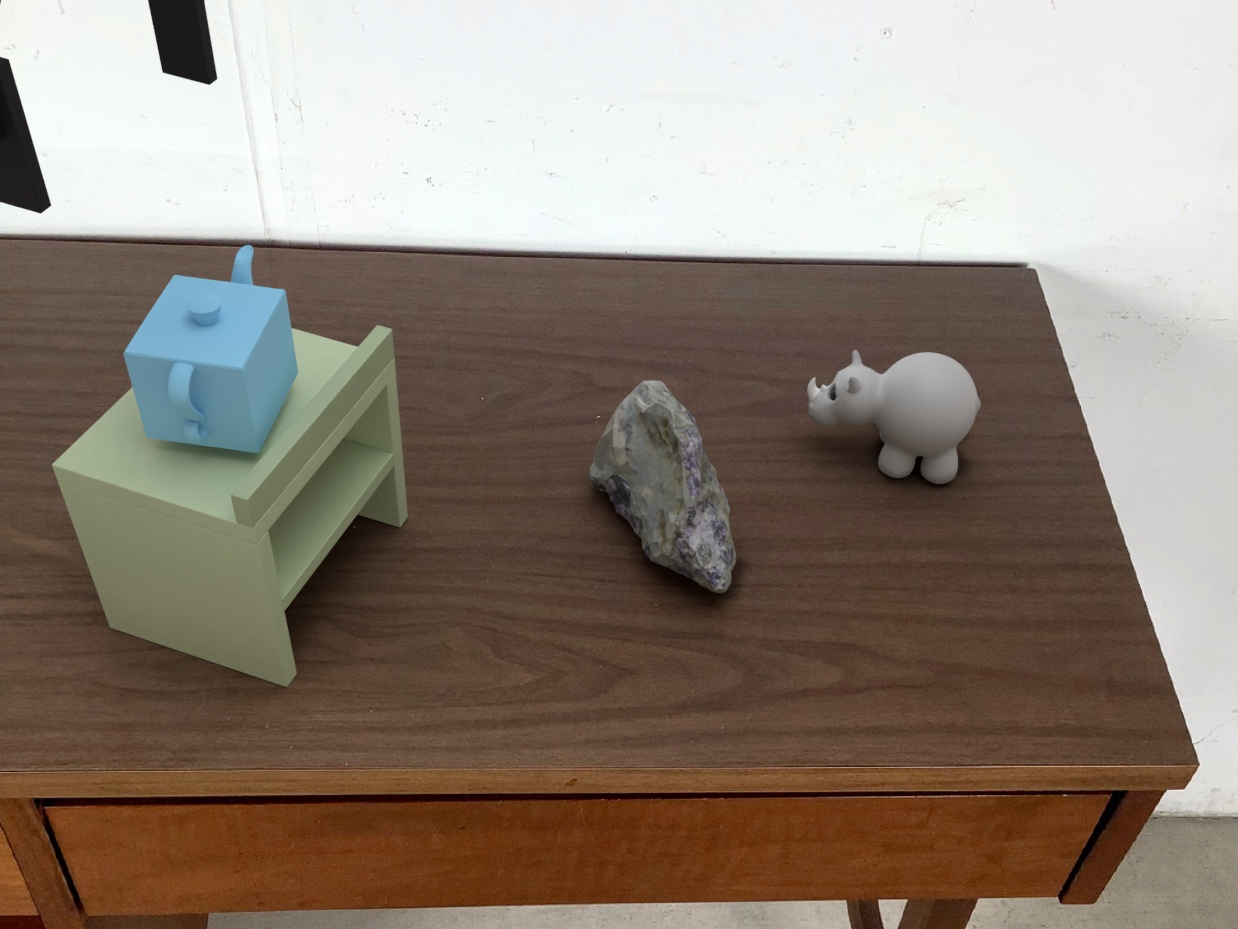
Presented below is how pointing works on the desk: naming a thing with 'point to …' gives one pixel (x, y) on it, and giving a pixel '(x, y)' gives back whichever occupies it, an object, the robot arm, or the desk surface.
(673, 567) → the mineral rock
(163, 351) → the teapot
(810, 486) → the desk surface
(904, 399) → the toy rhinoceros
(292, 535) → the shelf
